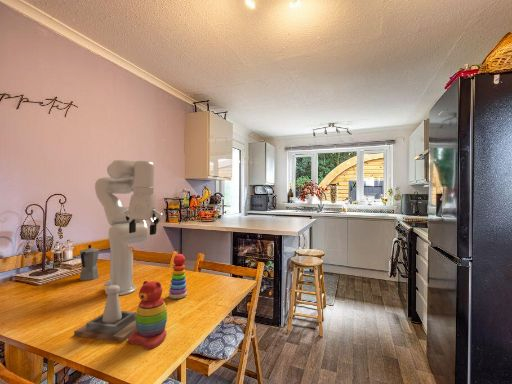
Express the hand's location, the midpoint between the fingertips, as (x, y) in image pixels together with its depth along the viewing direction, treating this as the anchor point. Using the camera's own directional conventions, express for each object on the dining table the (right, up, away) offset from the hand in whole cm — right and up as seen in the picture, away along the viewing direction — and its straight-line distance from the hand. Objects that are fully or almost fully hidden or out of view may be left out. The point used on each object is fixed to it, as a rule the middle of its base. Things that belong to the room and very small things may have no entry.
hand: (142, 233), depth 109 cm
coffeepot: (-44, -30, +35) cm, 64 cm away
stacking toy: (+11, -30, +11) cm, 34 cm away
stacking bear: (+13, -30, -24) cm, 40 cm away
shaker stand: (-2, -29, -19) cm, 35 cm away
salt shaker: (-2, -28, -19) cm, 34 cm away
